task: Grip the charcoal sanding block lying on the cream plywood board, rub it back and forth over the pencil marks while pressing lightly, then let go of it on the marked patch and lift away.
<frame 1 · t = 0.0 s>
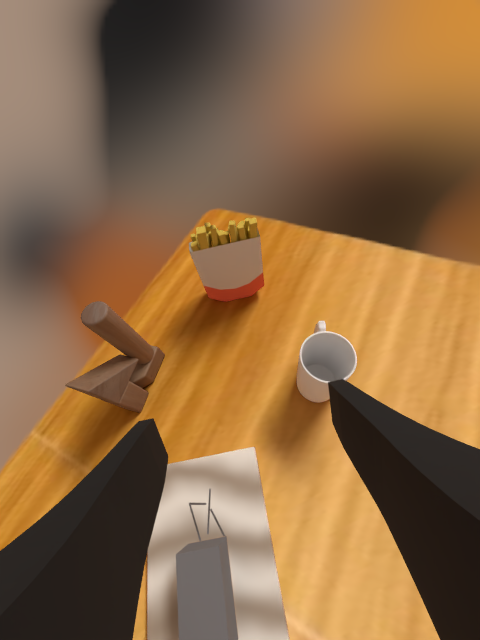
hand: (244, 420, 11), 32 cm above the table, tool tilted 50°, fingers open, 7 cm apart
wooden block: (145, 380, 47), on the table
mug: (315, 373, 44), on the table
french fries container: (236, 290, 54), on the table
sanding block: (211, 586, 32), point 1 cm above the table, touching board
board: (210, 542, 35), on the table
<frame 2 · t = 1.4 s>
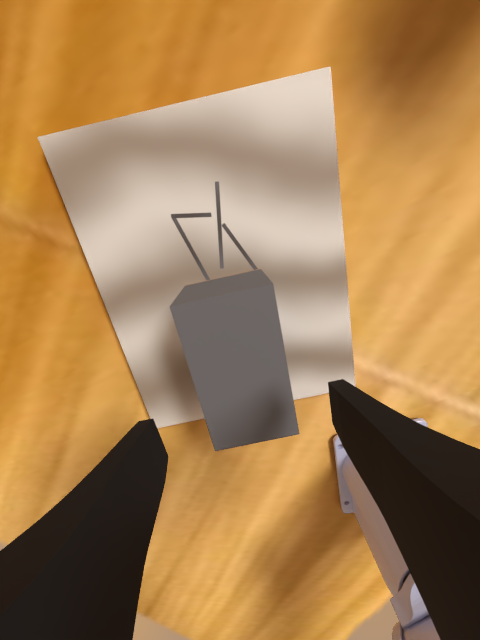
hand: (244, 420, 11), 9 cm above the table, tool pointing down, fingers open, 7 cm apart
sanding block: (237, 339, 19), point 1 cm above the table, touching board
board: (224, 281, 18), on the table
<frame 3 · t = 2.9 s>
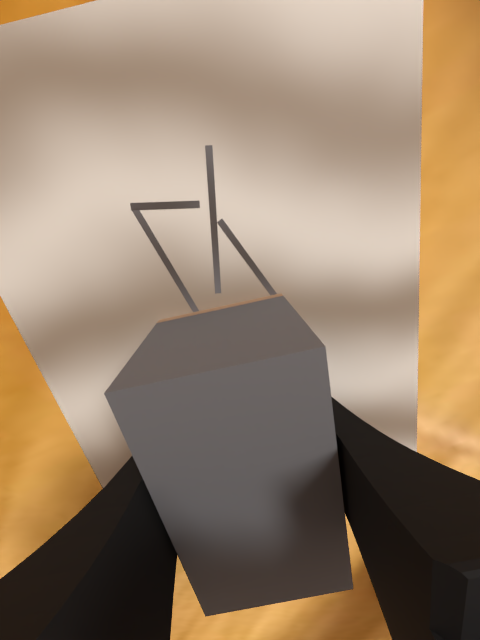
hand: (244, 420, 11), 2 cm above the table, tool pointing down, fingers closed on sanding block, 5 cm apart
sanding block: (242, 399, 12), point 1 cm above the table, touching board, gripper
board: (223, 310, 12), on the table
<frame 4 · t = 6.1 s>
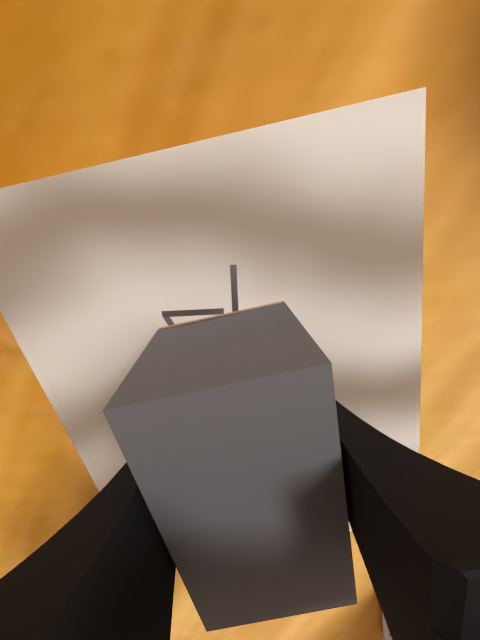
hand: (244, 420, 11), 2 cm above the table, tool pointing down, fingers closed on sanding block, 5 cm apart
sanding block: (244, 407, 12), point 1 cm above the table, touching gripper
board: (240, 388, 13), on the table
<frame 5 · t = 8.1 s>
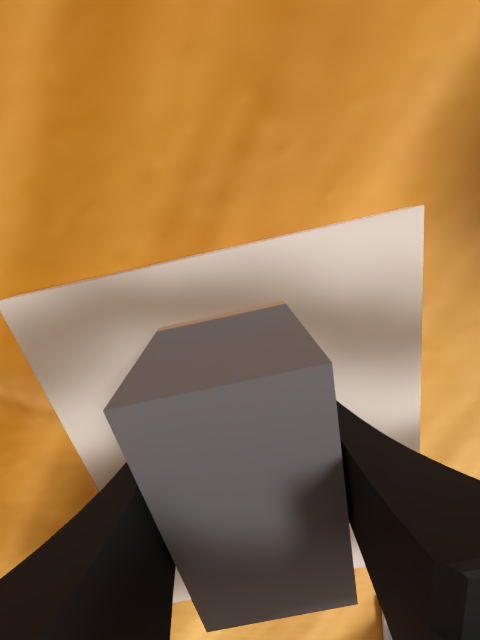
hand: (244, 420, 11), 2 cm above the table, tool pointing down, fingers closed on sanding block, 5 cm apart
sanding block: (244, 407, 12), point 1 cm above the table, touching gripper
board: (254, 444, 14), on the table
when the fingers open (2 cm above the table, at t = 9.5 s): sanding block stays where it is, resting on board.
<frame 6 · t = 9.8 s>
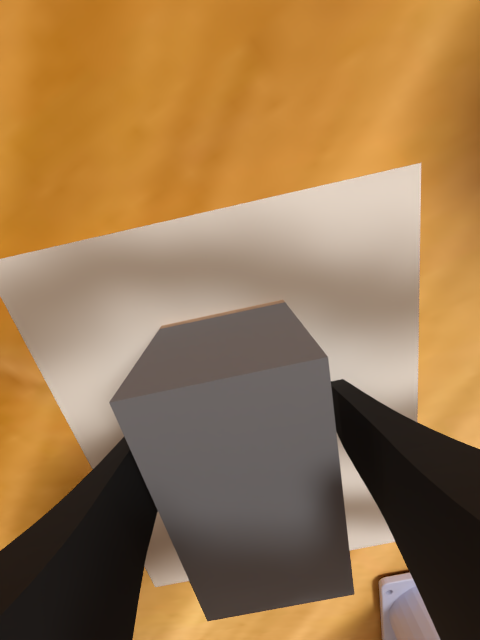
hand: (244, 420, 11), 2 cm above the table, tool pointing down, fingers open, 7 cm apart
sanding block: (244, 404, 12), point 1 cm above the table, touching board
board: (249, 419, 14), on the table
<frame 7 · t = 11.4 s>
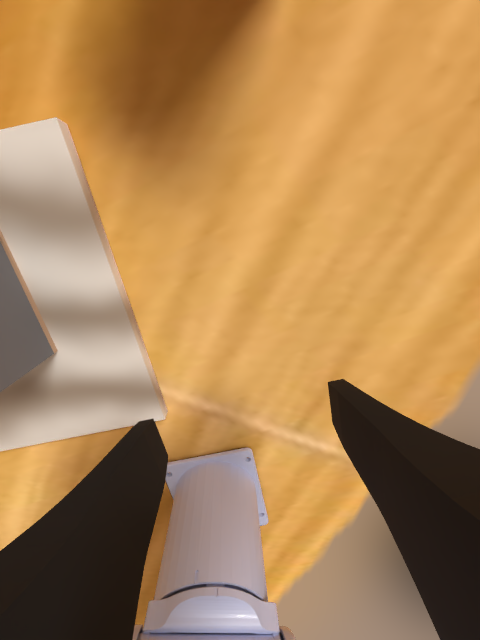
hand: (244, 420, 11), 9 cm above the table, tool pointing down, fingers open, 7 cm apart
board: (15, 316, 18), on the table
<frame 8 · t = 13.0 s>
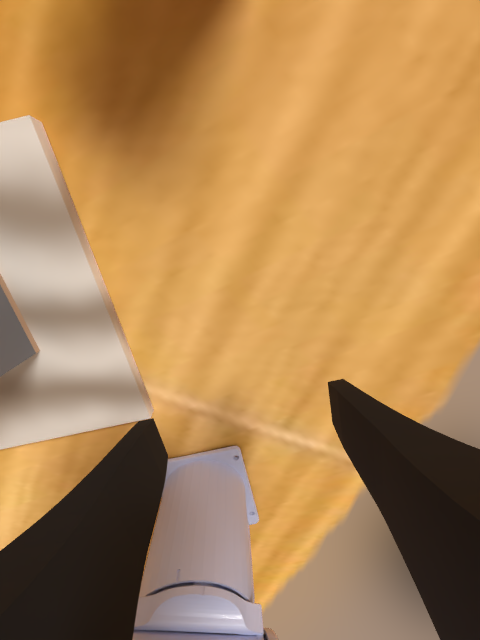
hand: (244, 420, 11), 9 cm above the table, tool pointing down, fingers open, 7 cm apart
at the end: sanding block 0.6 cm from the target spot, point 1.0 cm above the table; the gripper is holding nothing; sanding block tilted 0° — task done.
